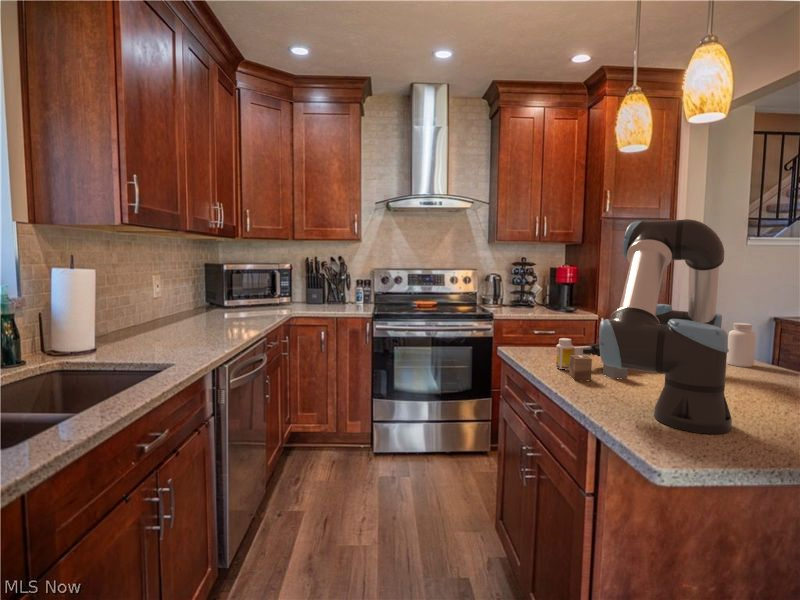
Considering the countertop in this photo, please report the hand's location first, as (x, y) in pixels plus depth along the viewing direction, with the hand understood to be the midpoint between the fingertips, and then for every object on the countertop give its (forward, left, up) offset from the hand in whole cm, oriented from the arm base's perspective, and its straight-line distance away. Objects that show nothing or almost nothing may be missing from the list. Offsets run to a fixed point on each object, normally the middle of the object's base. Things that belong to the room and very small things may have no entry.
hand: (572, 351), depth 157 cm
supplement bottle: (-1, +3, -6) cm, 7 cm away
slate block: (-11, -10, -6) cm, 16 cm away
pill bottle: (+11, -63, -6) cm, 64 cm away
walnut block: (-14, +2, -6) cm, 15 cm away
